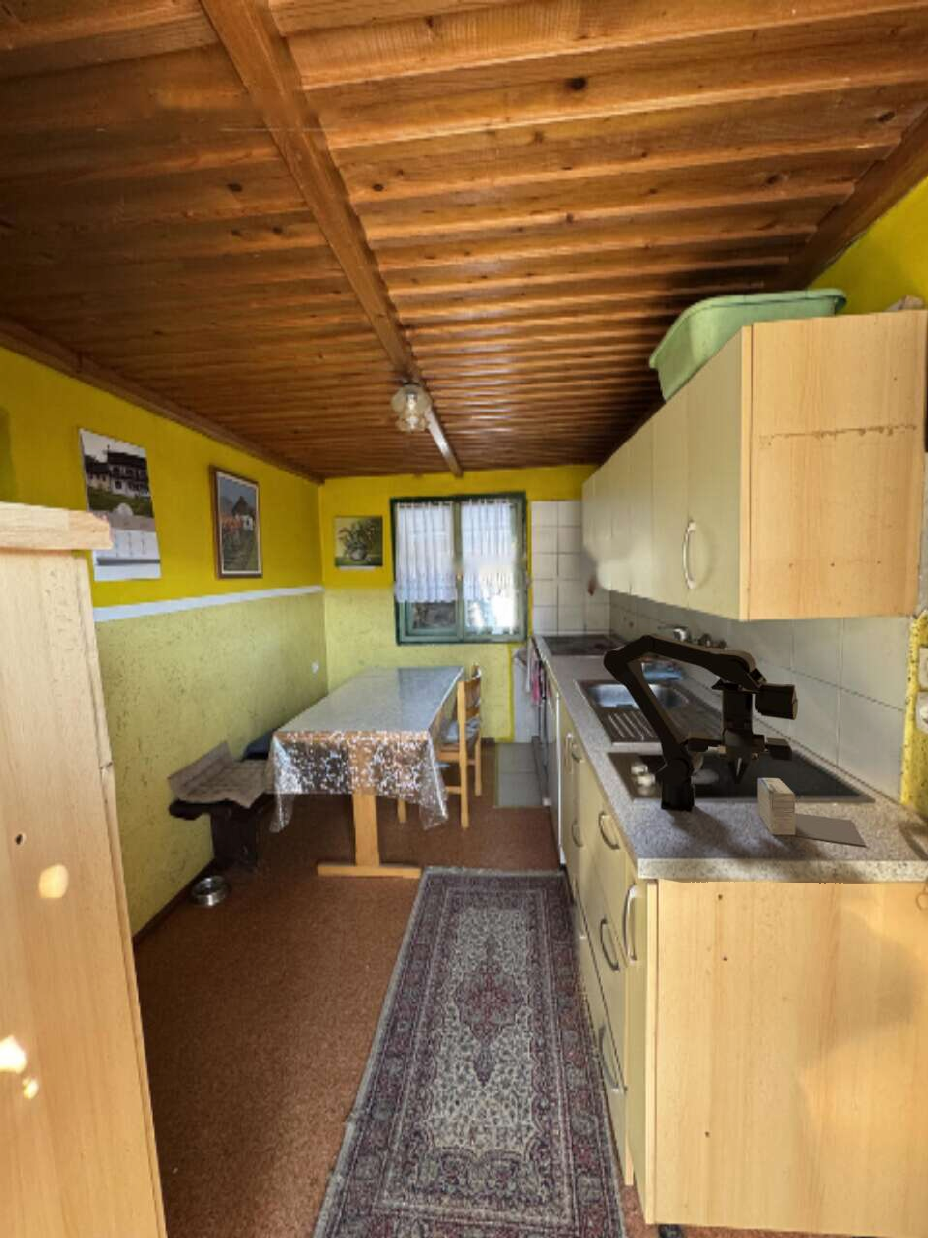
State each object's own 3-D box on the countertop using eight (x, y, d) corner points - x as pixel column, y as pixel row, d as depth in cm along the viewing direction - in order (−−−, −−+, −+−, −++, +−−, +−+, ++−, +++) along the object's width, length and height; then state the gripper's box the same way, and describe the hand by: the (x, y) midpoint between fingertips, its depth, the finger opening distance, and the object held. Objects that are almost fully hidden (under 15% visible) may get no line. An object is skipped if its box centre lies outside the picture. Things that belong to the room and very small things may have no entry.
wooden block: (795, 836, 99) (796, 794, 98) (770, 835, 100) (771, 793, 99) (780, 817, 107) (780, 777, 106) (756, 816, 108) (756, 777, 107)
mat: (796, 836, 99) (796, 835, 99) (788, 813, 108) (788, 812, 108) (865, 847, 94) (865, 845, 94) (851, 822, 103) (851, 820, 103)
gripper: (687, 719, 101) (687, 794, 103) (797, 728, 93) (796, 808, 95) (688, 705, 111) (688, 773, 113) (787, 711, 103) (786, 784, 105)
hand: (736, 784), depth 106 cm, fingers closed
